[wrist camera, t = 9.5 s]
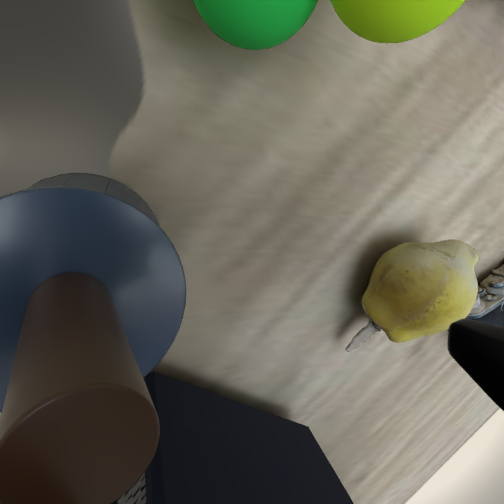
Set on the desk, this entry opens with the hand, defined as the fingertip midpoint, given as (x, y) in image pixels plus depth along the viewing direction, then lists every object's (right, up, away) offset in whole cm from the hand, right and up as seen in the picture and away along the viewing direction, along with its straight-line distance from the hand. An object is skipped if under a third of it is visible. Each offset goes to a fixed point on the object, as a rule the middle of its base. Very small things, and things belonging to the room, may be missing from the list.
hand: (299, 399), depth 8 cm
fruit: (+8, +1, +16) cm, 18 cm away
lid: (-7, +2, +3) cm, 8 cm away
